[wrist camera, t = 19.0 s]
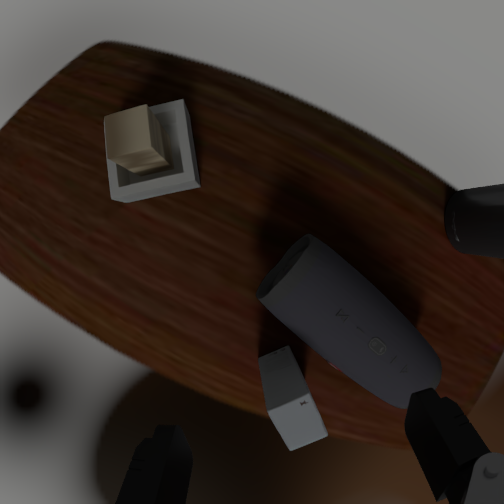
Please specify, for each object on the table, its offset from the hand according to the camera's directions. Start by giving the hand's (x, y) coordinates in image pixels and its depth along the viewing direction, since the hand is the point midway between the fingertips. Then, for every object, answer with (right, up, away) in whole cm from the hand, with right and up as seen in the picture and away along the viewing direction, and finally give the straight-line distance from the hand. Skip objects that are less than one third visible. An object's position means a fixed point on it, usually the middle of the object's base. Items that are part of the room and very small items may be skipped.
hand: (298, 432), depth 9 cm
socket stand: (-13, +17, +25) cm, 33 cm away
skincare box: (+2, -9, +28) cm, 29 cm away
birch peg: (-13, +17, +24) cm, 32 cm away
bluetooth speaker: (+10, -2, +28) cm, 30 cm away
